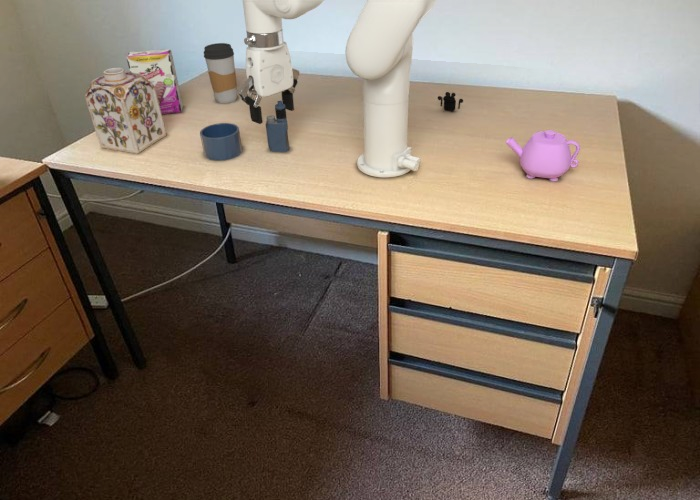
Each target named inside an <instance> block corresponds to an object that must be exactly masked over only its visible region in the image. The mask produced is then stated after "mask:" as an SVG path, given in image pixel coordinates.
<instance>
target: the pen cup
mask: <svg viewBox="0 0 700 500" xmlns="http://www.w3.org/2000/svg"><path fill="white" fill-rule="evenodd" d="M199 137H200V141H201V146H202V150H203V155H204V157H205V158H206V159H208V160H211V161H220V162H221V161H227V160H228V161H229V160H232V159H235V158H237V157H238V156H240V155H241V154H242V152H243V145H242V138H241V132H240V127H239V126H238V125H237V124H234V123H231V122H220V123H214V124H209V125H206V126H205V127H202V128H201V130H200V131H199Z"/></svg>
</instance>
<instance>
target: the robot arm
mask: <svg viewBox="0 0 700 500" xmlns="http://www.w3.org/2000/svg"><path fill="white" fill-rule="evenodd" d="M324 1H325V0H242V6H243V13H244V14H243V15H244V22H245V31H246V37H244V38H243V43H244V44H245V45H246V46H247V47H246V50H245V75H246V80H245V81H244V82H243V83H242V84H241V85H240V86H239V87H238V88H237V95H239V97H240V99H241V100H242V101H243V102H244V103H245V104H246V105H247V106H248V107H249V113H250V114H249V115H250V120H251V122H254V123H256V124H257V125H262V124H263V113H262V112H263V111H262V107H261V106H260V102H261V100H262V98H268V97H272V96H274V95H277V94H279V93H281V101H282V104H285V108H286V111H289V112H293V111H295V105H294V94H295V92H296V86H297V85H298V83H299V82H298V79H299V76H300V70H299V69H296V68H293V64H292V59H291V56H290V55H291V53H290V50H289V47H288V44H287V42H286V41H284V33H283V32H284V29H283V19H284V20H294V19H295V20H296V19H297V18H300V17H302V16H303V15H305V14H307V13H308V12H310V11H312V10H314V9H316V8H317V7H319V6H321V4H322V3H323V2H324ZM437 1H438V0H366V2H365V4H364V6H363V8H362V9H361V12H360V13H359V16H358V18H357V20H356V21H355V24H354V26H353V28H352V30H351V32H350V33H349V36H348V37H347V40H346V46H345V51H344V52H345V53H344V54H345V59H346V63H347V66H348V68H349V69H350V71H351V72H352V73H353V75H355V76H357V77H358V78H360V79H362V126H363V128H362V129H363V153H362V154H361V155H359V156H358V158H357V160H356V165H357V166H356V167H357V169H358V170H359V171H360V172H361V173H363V174H365V175H367V176H370V177H375V178H396V177H401V176H403V175H405V174H407V173H409V172H410V171H413V172H417V171H418V170H419V169H420V164H421V160H422V159H421V157H418V156H414V155H413V154H412V147H411V146H408V143H409V142H408V138H409V101H410V100H409V99H410V80H411V79H410V78H411V66H412V59H413V51H414V31H415V30H416V28H417V27H418V25H419V23H420V22H421V21H422V19H423V18H424V17H426V16H427V15H428V14H429V13H430V12H431V10H433V8H434V6H435V5H436V3H437ZM248 92H249V94H248Z"/></svg>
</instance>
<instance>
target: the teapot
mask: <svg viewBox="0 0 700 500" xmlns="http://www.w3.org/2000/svg"><path fill="white" fill-rule="evenodd" d="M505 144H506V145H507V146H508V148H510V149H511V151H512V152H513V153H514V154H516V155H517V156H518V158H519V164H520V166H521V168H522V170H523V171H524V173H526V178H527V179H535V178H544V179H548V180H549V181H551V182H558V181H559V178H560V177H562V176H563V175H564V174H566V173H567V172H568V171H569V169H570V168H577V167H578V166H579V163H580V162H579V160H578V159H576V158H577V156H578V154H579V153H580V150H581V146H580V143H579V142H578V141H576V140H573V139H570V140H567V138H566V136H565V135H564V134H562V133H560V132H557V131H555V130H552V129H547V130H540V131H536V132H535V133H533V134H532V136H530V138H529V139H528V140H527V142H526V143H525V144H524V146H523V147H522V146H521V145H520V144H519V143H518V142H517V141H516V139H515V138H514V137H513V136H512V137H509V138H508V139H507V140H506V141H505ZM570 145H573V146H575V148H576V149H575V151H574V152H573V154H572V152H571V149H570Z"/></svg>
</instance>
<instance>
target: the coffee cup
mask: <svg viewBox="0 0 700 500" xmlns="http://www.w3.org/2000/svg"><path fill="white" fill-rule="evenodd" d="M203 49H204V51H203V58H204V59H205V64H206V67H207V68H206V69H207V71H208V72H207V73H208V78H209V80H210V84H211V88H212V92H213V95H214V100H216V103H219V104H229V103H233V102H235V101H237V100H238V92H237V90H238V85H237V74H236V65H235V58H234V57H235V52H234V48H232V45H231V44H230V43H227V42H218V43H211V44H207V45H205V46H204V47H203Z"/></svg>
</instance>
